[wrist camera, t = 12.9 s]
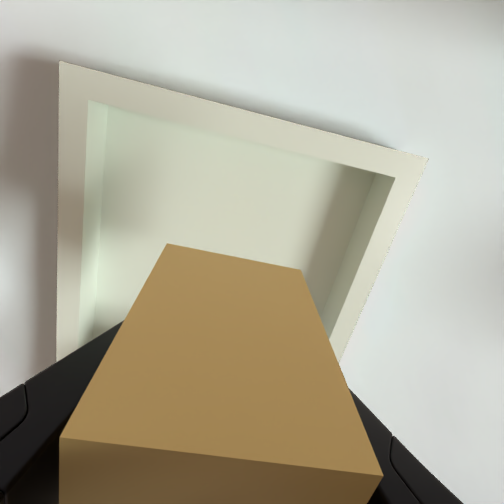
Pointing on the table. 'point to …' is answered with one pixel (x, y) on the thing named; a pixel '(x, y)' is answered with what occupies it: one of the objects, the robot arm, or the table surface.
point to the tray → (212, 199)
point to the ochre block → (218, 396)
